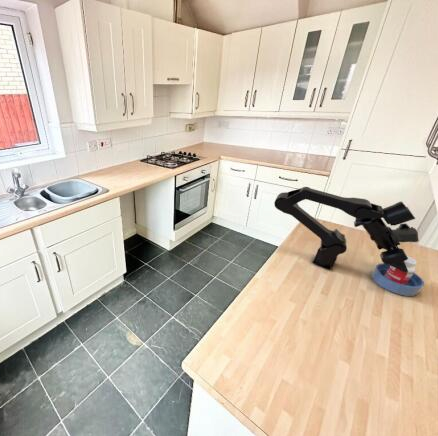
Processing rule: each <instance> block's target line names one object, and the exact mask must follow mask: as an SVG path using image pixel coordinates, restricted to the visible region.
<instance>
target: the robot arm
mask: <svg viewBox="0 0 438 436" xmlns="http://www.w3.org/2000/svg"><path fill="white" fill-rule="evenodd" d="M305 200H307V201H310V202H314V203H318V204H321V205H324V206H327V207H331V208H334V209H338V210H340V211H341V212H344V213H345V214H347V215H349V216H351V217H353V218H355V220H354V221H353V226H354V228H357V227H360V226H362V228H363V229H364V230H365V232H366V233H367V234H368V236H369V238H370V240H371V241H372V242H374V243H375V245H376V248H377V250H379V251H380V250H385V251H382V252H381V253H380V254H379V257H380V260H381V263H384V264H386V265H391V266H393V267H395V268H397V269H399V270H401V271H402V272H408V270H407V267H406V265H405V262H404V261H405V260H407V259H408V257H409V256H408V255H407V253H406V252H405V250H404V249H403V248H400V247H399V246H400V245H401V243H418V242H419V233H418V231H417V229H416V228H415V227H413V226H409V224H408V223H407V222H411V221H414V220H416V217H415V216H414V214H413V212H412V211H411V210H410V208H409V207H408V206H406V204H405V203H404V202H403V201H399V202H396V203H394V204H392V205H389V206H386V207H384V208H383V207H382V205H379V204H376V203H371V201H370V200H369V199H366V198H360V197H345V196H344V197H343V196H340V195H336V194H333V193H329V192H325V191H322V190H318V189H315V188H311V187H309V186H303V187H299V188H297V189H293V190H290V191H286V192H279V193H278V194H277V196H276V198H275V200H274V208H275V209H276V210H278V211H280V212H282V213H283V214H286V215H289V216H291V217H293V218H294V219H295V220H297V221H298V222H299V223H301V224H302V225H303V226H304V227H306V228H307V229H308V230H309V231H310V232H311V233H313V234H314V235H315V236H317V237H318V238H319V239H320V246H319V248H318V249H317V251H316V253H315V256H314V258H313V260H312V262H311V263H312V264H314V265H315V266H317V267H322V268H323V269H325V270H328V271H330V270H331V269H332V268H333V267H334V266H335V264H336V262H337V259H338V257H339V255H343V254H345V253H346V252H347V249H348V247H347V239H346V235H345V234H344V233H342V232H340V231H339V229H338V228H335V229H334V230H331V229H329V228H327V227H326V226H325V225H323V224H322V223H321V222H319V220H317V219H316V218H315V217H313V216H312V215H311V214H309V213H308V212H307V211H306V210H305V209H303V208H301V206H300V205H299V204H298V203H300V202H302V201H305ZM387 225H390V226H387ZM398 225H399V226H398ZM392 226H398V227H396V229H392V228H391V227H392ZM407 256H408V257H407Z"/></svg>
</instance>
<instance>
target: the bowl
mask: <svg viewBox="0 0 438 436" xmlns="http://www.w3.org/2000/svg"><path fill="white" fill-rule="evenodd" d="M389 267H390V265H386V264H384V263H383V262H381V263H380V262H379V263H378V264H375V267H374V269H373V270H372V272H371V274H370V276H371V279H372V280H373V282H374V283H375V284H377V286H379V287H381V288H383V289H385V290H387V291H389V292H391V293H393V294H397V295H401V296H405V297H406V296H407V297H414V296H417V295H419V293H420V291H421V290H422V289H423V287H424V286H425V281H424V280H423V278H422V277H421V276H419V274H417V273H415V272H414V274H413V275H412V276H411V278H410V279H409V281H408V282H407V284H406V285H402V284H399V283H396V282H394V281H392V280H390V279H388V278H386V277H385V276H384V275H385V274H386V272H387V270H388V269H389Z"/></svg>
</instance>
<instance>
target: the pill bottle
mask: <svg viewBox="0 0 438 436" xmlns="http://www.w3.org/2000/svg"><path fill="white" fill-rule="evenodd" d="M407 257H408V259H407V260H405V261H404V262H405V265H406V267H407V270H408V272H402V271H401V270H399V269H397V268H395V267H393V266H391V265H390V267H389V269H388V270H387V272H386V274H385V275H384V276H385V277H386V278H388V279H390V280H392V281H394V282H396V283H399V284H402V285H406V284H407V282H408V281H409V279H410V278H411V276H412V275H413V274H414V273H415V272H416V270H417V269H416V267H415V266H417V264H418V261H417V260H416V259H415V258H413V257H411V256H408V255H407Z"/></svg>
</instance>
